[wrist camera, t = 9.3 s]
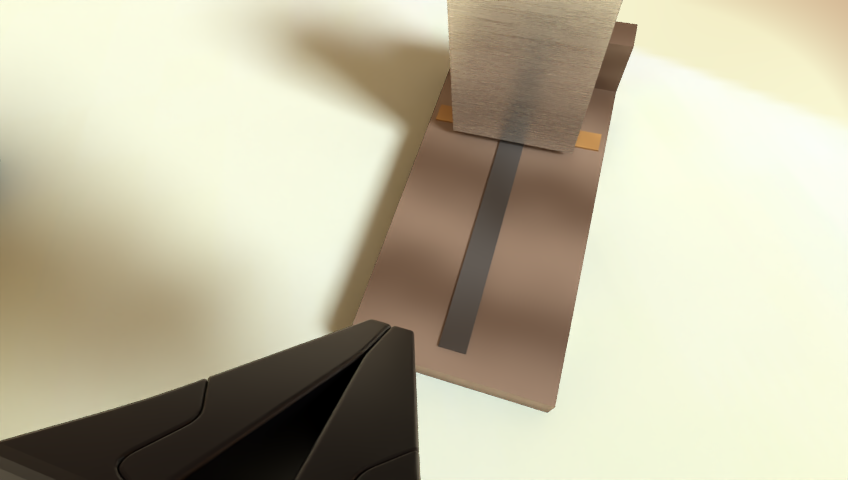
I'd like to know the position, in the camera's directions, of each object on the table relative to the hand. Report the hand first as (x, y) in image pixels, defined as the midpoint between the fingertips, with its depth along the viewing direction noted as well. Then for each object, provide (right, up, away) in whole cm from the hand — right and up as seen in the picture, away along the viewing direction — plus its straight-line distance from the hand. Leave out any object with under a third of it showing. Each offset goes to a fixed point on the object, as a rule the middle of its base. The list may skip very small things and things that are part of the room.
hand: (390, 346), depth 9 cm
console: (+4, +3, +16) cm, 17 cm away
